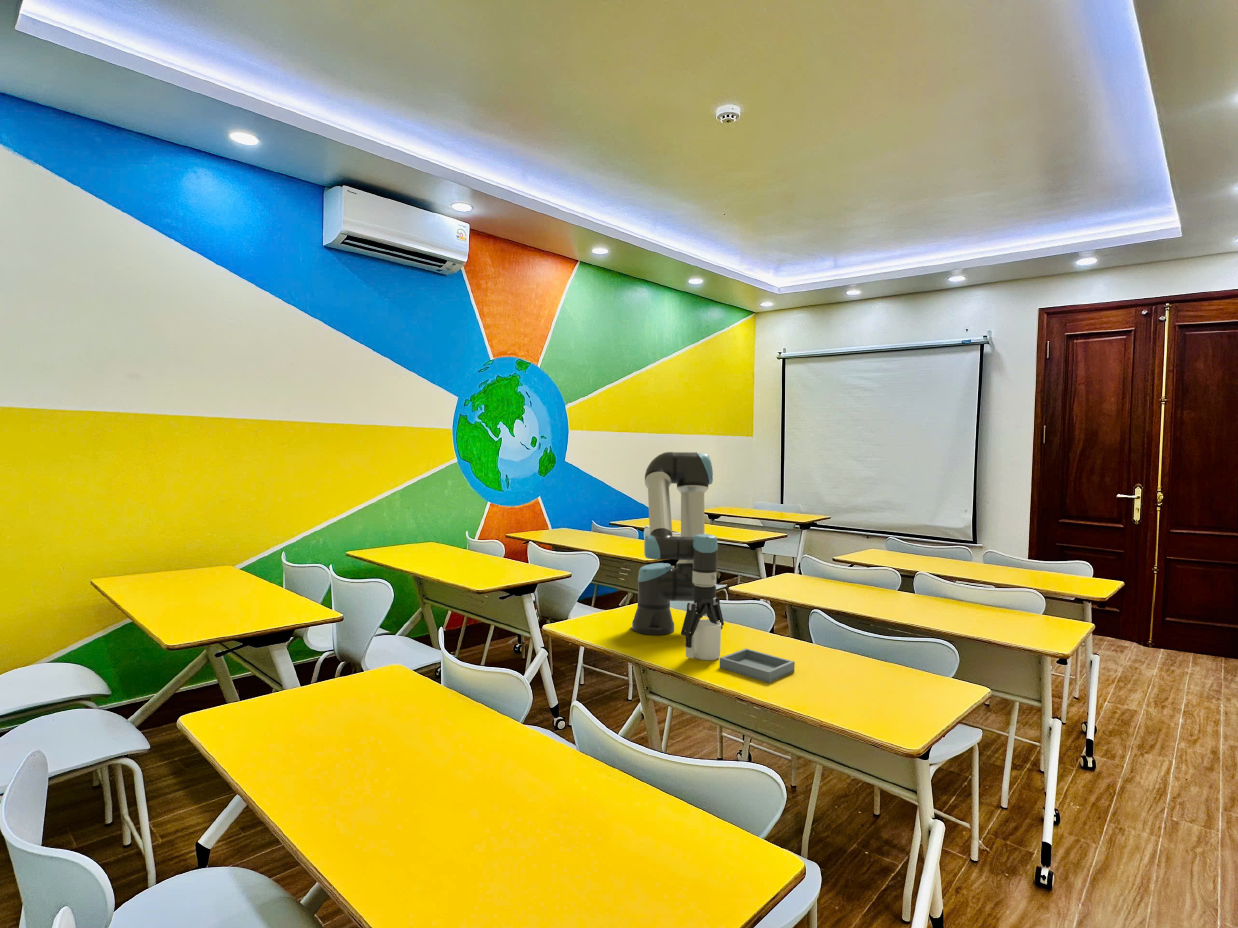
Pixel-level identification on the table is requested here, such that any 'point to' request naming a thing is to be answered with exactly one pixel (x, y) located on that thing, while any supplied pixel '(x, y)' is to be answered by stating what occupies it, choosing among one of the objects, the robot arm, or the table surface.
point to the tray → (757, 665)
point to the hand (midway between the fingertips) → (702, 653)
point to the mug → (707, 640)
